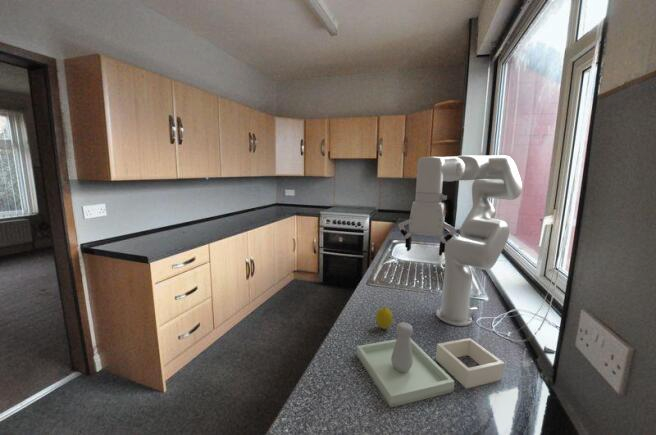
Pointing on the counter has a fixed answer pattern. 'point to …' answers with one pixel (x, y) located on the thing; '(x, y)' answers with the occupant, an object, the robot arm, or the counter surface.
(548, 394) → the counter surface
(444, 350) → the square frame
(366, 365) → the tray
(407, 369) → the salt shaker
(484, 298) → the counter surface
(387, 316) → the lemon
